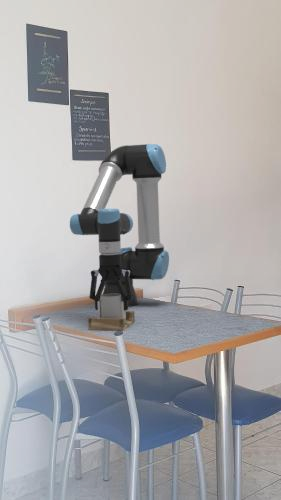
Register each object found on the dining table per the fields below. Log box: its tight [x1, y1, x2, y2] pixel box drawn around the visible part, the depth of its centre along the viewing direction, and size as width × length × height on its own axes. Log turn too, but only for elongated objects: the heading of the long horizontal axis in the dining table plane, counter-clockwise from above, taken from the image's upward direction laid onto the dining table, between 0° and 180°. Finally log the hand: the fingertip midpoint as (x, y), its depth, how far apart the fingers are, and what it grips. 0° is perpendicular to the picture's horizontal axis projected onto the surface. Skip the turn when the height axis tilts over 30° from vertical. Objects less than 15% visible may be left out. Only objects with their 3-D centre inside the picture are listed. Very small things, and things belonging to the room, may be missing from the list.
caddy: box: [87, 310, 135, 331], centre depth 224 cm, size 15×12×4 cm
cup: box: [100, 293, 122, 319], centre depth 224 cm, size 7×10×9 cm
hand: (112, 319), depth 224 cm, fingers closed on cup, 8 cm apart
